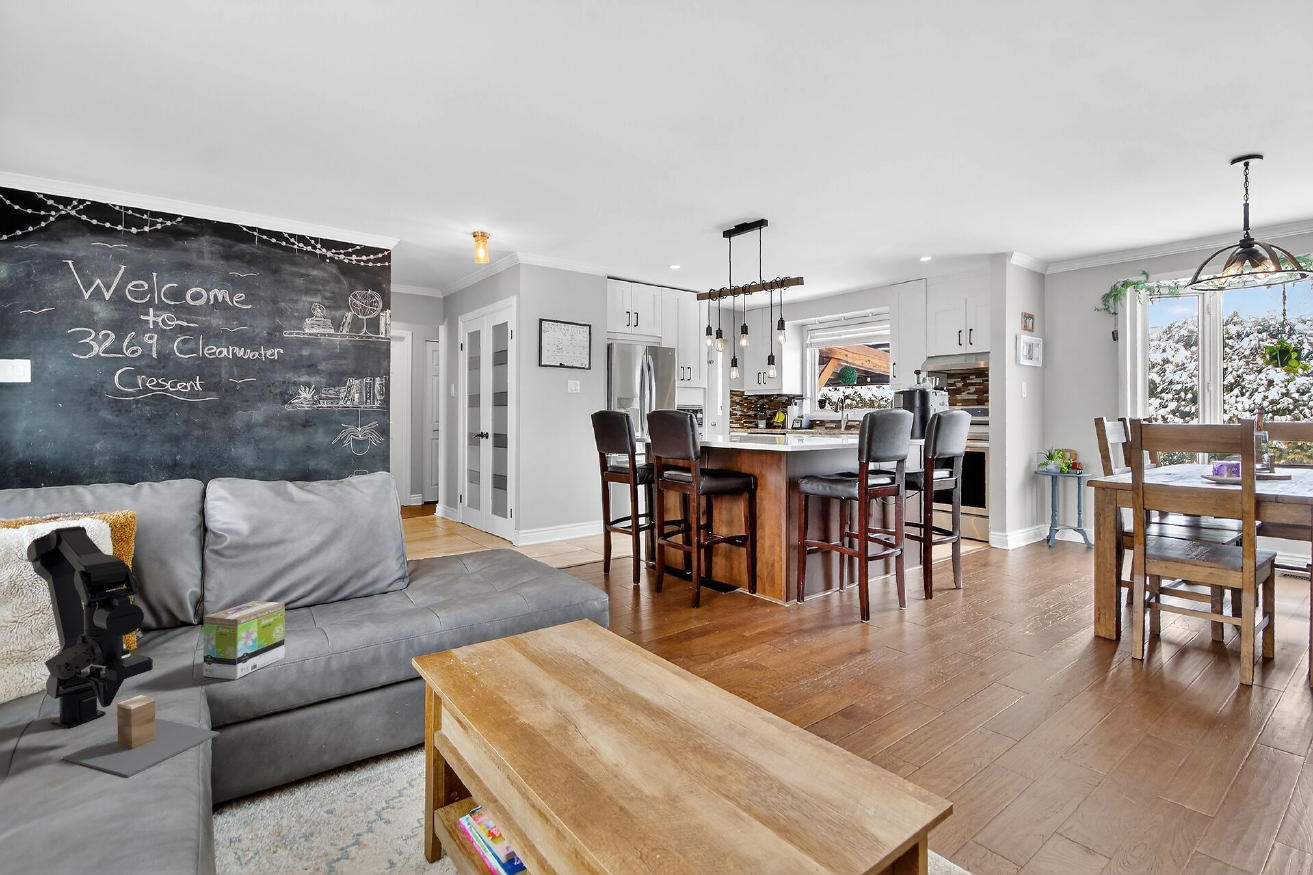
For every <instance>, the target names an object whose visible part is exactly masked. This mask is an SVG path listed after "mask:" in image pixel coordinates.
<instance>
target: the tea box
mask: <svg viewBox="0 0 1313 875" xmlns="http://www.w3.org/2000/svg"><path fill="white" fill-rule="evenodd" d="M285 608H286V606H285V603H284V602H274V601H260V600H252V601H249V602H246V603H243V604H240V605H237V606H234V607H233V606H232V607H230V608H227V609H223V610H220V611H217V612H214V613H212V614H208V615H204V616H203V645H202V646H203V657H202V658H203V665H202V667H203V668H202V673H203V674H202V675H203V677H208V678H217V679H227V680H238V679H240V678H242V677H243V676H245V675H248V674H251V673H252V672H255V671H257V670H259V669H262V668H264V667H266V666H269V665H271V664H273V663H276V662H279V661H280V660H283V659H284V658H285V648H286V646H285V644H286V642H285V636H286V633H285V626H286V624H285V623H286V622H285V616H286V612H285V610H286V609H285Z"/></svg>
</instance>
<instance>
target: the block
mask: <svg viewBox="0 0 1313 875" xmlns="http://www.w3.org/2000/svg"><path fill="white" fill-rule="evenodd" d="M155 700H156V698H155V697H152V696H148V695H147V696H146V695H141V694H139V695H137V696H134V697H131V698H129V699H126V700H123V701H119V702H118V703H116V713H117V714H116V715H117V716H116V717H117V723H116V724H117V735H118V746H120V747H124V748H128V749H135V748H137V747H139V746H141V745H144V744H146V743H148V742H151V741H153V740H155V719H156V710H155V708H156V706H155V705H156V704H155Z"/></svg>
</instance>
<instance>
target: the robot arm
mask: <svg viewBox="0 0 1313 875" xmlns="http://www.w3.org/2000/svg"><path fill="white" fill-rule="evenodd" d="M87 532H88V531H87V529H86V527H85V526H80V525H77V526H76V525H75V526H67V527H58V528H55V529H51V531H50V532H49V533H47V534H45V535H42V536H40V537H37V538H35V539H32V541H31V542H30V544H29V545H28V546H27V548H26V558H27V561H28V562H29V563H31V564H32V568H33V572H34V573H35V574H36V575H37V576H39V577H41V579H43V580H44V581H46V584H47V587H48V592H49V598H50V602H51V607H52V612H53V617H54V618H53V619H54V622H55V627H56V632H57V636H58V642H59V649H58V652H57V654H55V655H54V656H52V657H51V658H49V659H47V660H46V661H44V665H45V667H46V669H47V670H48V672H49V673H50V674H49V676H48V678H47V680H46V683H45V688H46V695H48V696H50V697H51V698H53V699H54V700H57V699H58V704H59V705H58V706H59V708H58V709H59V710H58V711H59V717H57V718H53V719H52V720H51V719H50V724H53V725H56V726H61V727H65V728H73V727H76V726H79V725H81V724H83V723H86V722H89V721H92V720H95V719H97V718H100V717H102V716H105V715H106V713H107V712H106V711H104V710H99V709H98V703H99V705H100V707H101V708H107V707H110V706H111V705H112V703H113V701H114V699H115V698H116V695H117V693H118V692H119V690H120V688H121V687H122V684H123V682H124V681H125V679H126V680H127V679H129V678H132V677H135V676H138V675H141V674H144V673H147V672H150V671H152V670H153V669H154V667H153V665H154V662H153V661H154V660H153V658H151V657H149V656H148V655H143V654H137V653H135V654H132V655H130V648H125V645H124V644H125V641H124V640H125V638H124V637H125V636H127V635H130V634H132V633H134V632H136V631H137V630H138V629H139V628H140V627H141V626H142V624H143V622H144V618H145V612H144V611H143V609H142V608H141V607H140V606H139V605H136V604H134V603H132V602H131V601H132V600H131V596H136V595H138V590H137V589H138V586H139V584H138V582H137V580H136V578H135V574H134V573H133V571H132V570H133V569H131V567H130V566H129V564H128V563H126V562H125V560H123V558H120V557H119V556H117V555H115V554H113V555H112V554H106V553H104V552H103V551H102V550H101V548H100V547H99V546H98V545H96V543H95V541H93V540H92V539H91V537H90V536H89V535H88V533H87Z"/></svg>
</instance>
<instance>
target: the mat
mask: <svg viewBox="0 0 1313 875" xmlns="http://www.w3.org/2000/svg"><path fill="white" fill-rule="evenodd" d="M219 735H221V734H220V731H215V730H210V729H205V728H201V727H197V726H192V725H189V724H188V725H187V724H184V723H178V722H173V721H169V720H165V719H162V718H155V740H153V741H151V742H148V743H146V744H144V745H141V746H139V747H137V748H135V749H128V748H124V747H120V746H118V734H116V735H113V736H111V737H108V738H106V739H103V740H101V741H99V742H96V743H94V744H92V745H89V746H86V747H84V748H81V749H79V750H76V751H74V752H71V753H69V754H66V755H64V756H62V760H64V761H68V762H71V763H76V764H79V765H83V766H85V767H90V768H94V769H98V770H101V771H104V772H108V773H112V774H115V775H119V776H121V777H127V778H130V777H132V776H134V775H136V774H138V773H140V772H143V771H145V770H148V769H149V768H151V767H154V766H155V765H156V766H157V764H160V763H162V762H164V761H166V760H169V759H170V758H171V759H172V758H173V757H175V756H177V755H179V754H181V753H183V752H185V751H188V750H190V749H192V748H194V747H196V746H198V745H200V744H203V743H205V742H207V741H209V740H210V739H211V740H212V739H213V738H215V737H218V736H219Z"/></svg>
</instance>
